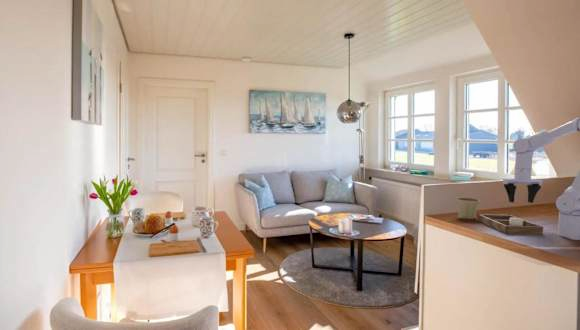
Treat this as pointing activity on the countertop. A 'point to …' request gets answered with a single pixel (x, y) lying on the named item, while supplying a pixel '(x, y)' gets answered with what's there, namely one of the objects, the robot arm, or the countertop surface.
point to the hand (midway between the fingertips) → (520, 202)
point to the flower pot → (467, 207)
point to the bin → (503, 224)
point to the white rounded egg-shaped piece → (515, 221)
